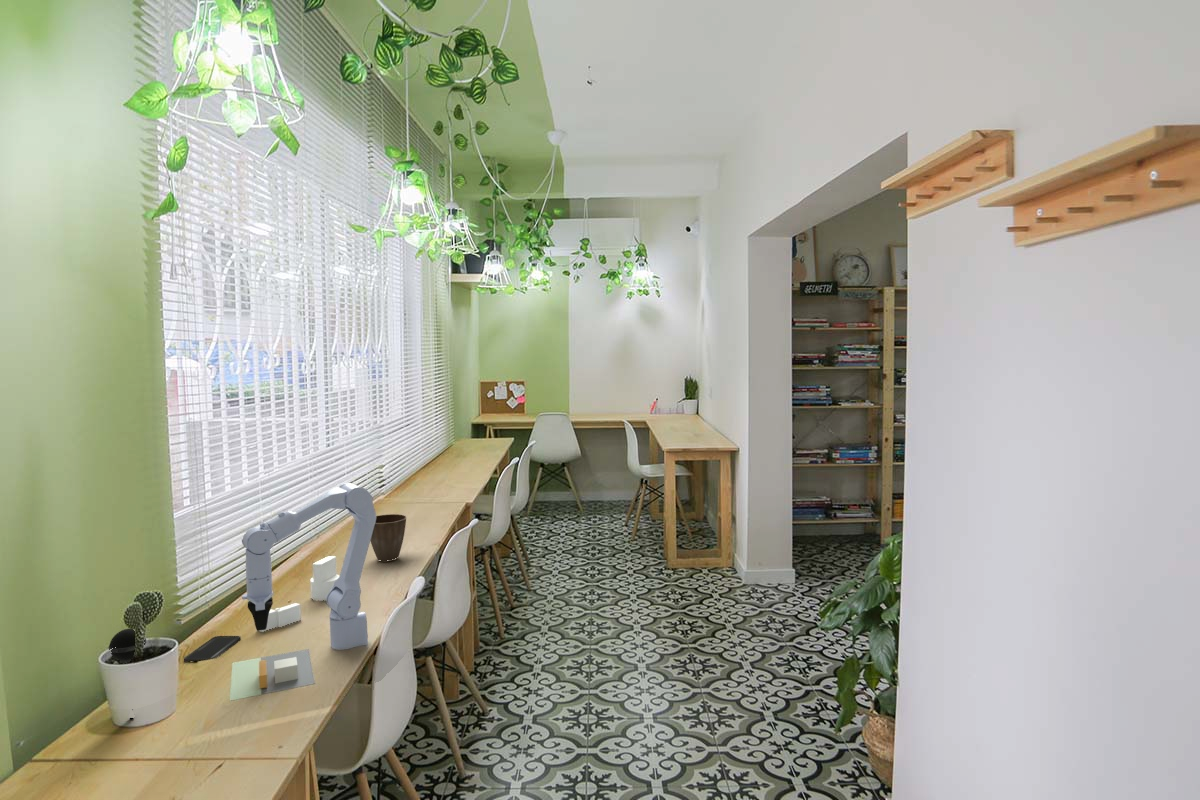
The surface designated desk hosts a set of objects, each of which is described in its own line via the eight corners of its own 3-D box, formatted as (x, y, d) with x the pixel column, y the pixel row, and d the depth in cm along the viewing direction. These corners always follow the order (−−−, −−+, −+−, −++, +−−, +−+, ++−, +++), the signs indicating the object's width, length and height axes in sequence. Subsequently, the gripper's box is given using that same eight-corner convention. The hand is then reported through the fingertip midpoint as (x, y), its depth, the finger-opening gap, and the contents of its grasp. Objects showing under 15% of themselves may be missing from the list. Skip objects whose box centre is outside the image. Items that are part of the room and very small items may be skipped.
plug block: (296, 670, 174) (296, 656, 174) (298, 678, 169) (297, 664, 169) (274, 674, 172) (274, 660, 171) (275, 683, 167) (274, 669, 167)
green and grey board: (308, 652, 187) (308, 648, 187) (315, 687, 167) (315, 683, 167) (232, 666, 179) (232, 662, 179) (229, 705, 159) (229, 700, 159)
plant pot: (360, 564, 264) (358, 522, 263) (377, 553, 279) (376, 513, 278) (398, 565, 263) (397, 523, 262) (413, 554, 277) (412, 514, 276)
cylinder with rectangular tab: (321, 590, 236) (320, 555, 235) (345, 592, 234) (344, 556, 233) (305, 599, 227) (303, 563, 226) (330, 601, 225) (328, 565, 224)
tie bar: (266, 671, 173) (266, 659, 172) (267, 687, 165) (266, 674, 164) (259, 673, 172) (259, 661, 172) (259, 688, 164) (259, 676, 164)
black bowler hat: (144, 724, 151) (139, 633, 150) (107, 729, 149) (102, 637, 148) (154, 708, 158) (150, 621, 156) (119, 713, 156) (114, 625, 154)
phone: (242, 635, 196) (211, 659, 181) (242, 639, 196) (211, 663, 182) (214, 635, 197) (181, 659, 182) (214, 639, 197) (181, 663, 182)
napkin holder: (307, 616, 213) (306, 598, 213) (303, 630, 203) (302, 611, 202) (252, 623, 209) (251, 604, 209) (245, 637, 198) (244, 618, 198)
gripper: (241, 570, 180) (244, 622, 181) (240, 587, 167) (243, 642, 168) (271, 566, 183) (274, 617, 184) (273, 582, 170) (275, 637, 171)
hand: (261, 629), depth 176 cm, fingers closed
